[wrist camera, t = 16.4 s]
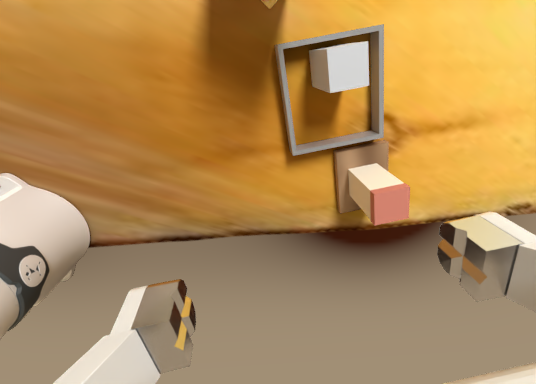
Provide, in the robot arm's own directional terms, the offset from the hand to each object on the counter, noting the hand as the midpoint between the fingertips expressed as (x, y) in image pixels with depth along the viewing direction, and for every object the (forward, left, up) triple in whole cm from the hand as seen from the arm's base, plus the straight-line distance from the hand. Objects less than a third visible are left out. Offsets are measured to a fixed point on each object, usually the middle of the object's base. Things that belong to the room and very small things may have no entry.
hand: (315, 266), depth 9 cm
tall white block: (+11, +3, -34) cm, 36 cm away
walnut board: (+15, -14, -34) cm, 40 cm away
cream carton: (+15, -14, -33) cm, 39 cm away
